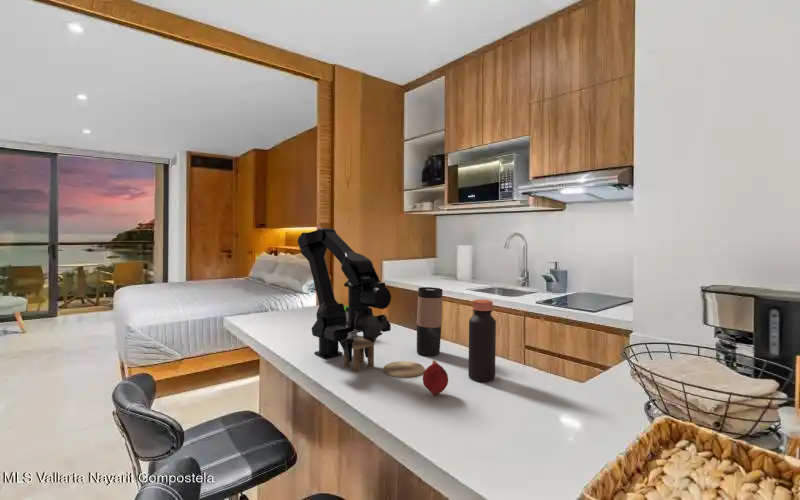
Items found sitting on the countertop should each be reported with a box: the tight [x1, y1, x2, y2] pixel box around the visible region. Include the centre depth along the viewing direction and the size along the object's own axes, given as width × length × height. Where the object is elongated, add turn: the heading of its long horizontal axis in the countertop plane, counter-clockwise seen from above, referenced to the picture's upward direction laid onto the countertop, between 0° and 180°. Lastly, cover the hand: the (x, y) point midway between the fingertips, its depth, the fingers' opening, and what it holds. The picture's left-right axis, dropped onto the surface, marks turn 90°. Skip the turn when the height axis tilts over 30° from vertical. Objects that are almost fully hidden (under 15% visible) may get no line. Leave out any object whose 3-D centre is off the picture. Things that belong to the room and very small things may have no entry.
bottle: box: [467, 299, 497, 383], centre depth 101 cm, size 7×7×20 cm
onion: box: [422, 359, 449, 396], centre depth 90 cm, size 6×6×8 cm
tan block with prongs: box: [343, 337, 375, 373], centre depth 109 cm, size 6×6×7 cm
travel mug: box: [416, 286, 443, 357], centre depth 122 cm, size 8×8×20 cm
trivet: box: [383, 360, 425, 378], centre depth 107 cm, size 11×11×1 cm
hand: (358, 359), depth 109 cm, fingers closed on tan block with prongs, 5 cm apart
